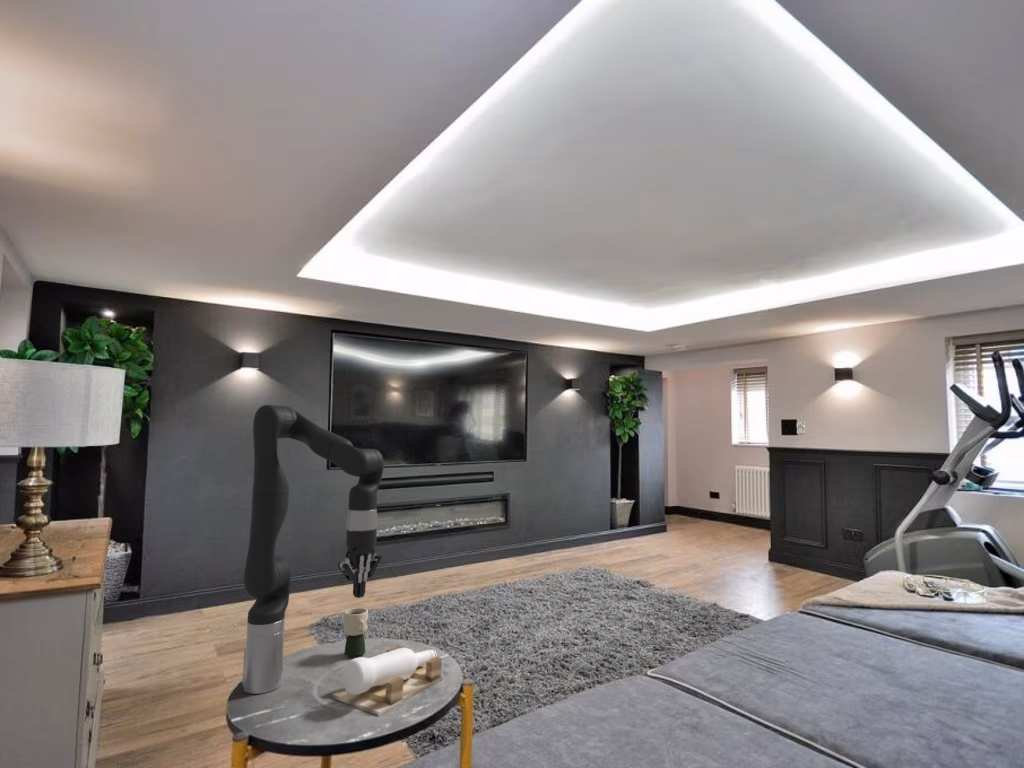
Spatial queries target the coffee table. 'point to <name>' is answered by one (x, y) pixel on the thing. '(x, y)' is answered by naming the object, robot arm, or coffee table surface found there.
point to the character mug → (355, 630)
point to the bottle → (382, 668)
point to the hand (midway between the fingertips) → (358, 596)
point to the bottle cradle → (394, 689)
